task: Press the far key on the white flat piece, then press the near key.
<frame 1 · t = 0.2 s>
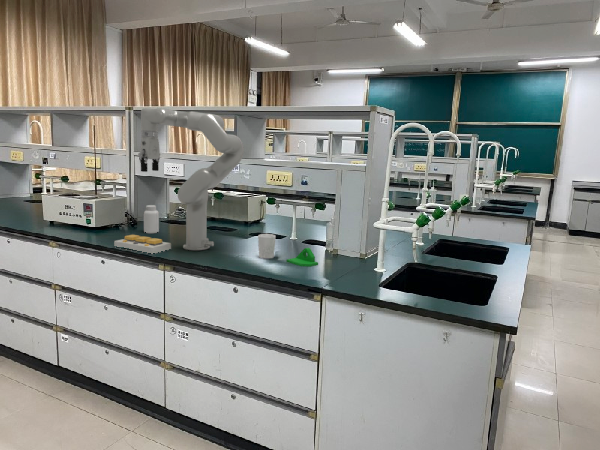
hand: (149, 171, 217), 36 cm above the countertop, tool pointing down, fingers open, 9 cm apart
key b: (143, 240, 212), point 4 cm above the countertop, slide at 0.0 cm
white cup: (266, 257, 206), on the countertop
key c: (132, 238, 216), point 4 cm above the countertop, slide at 0.0 cm
pill bottle: (151, 232, 251), on the countertop
white flat piece: (142, 248, 213), on the countertop
bracket: (302, 264, 197), on the countertop
key a: (154, 242, 209), point 4 cm above the countertop, slide at 0.0 cm
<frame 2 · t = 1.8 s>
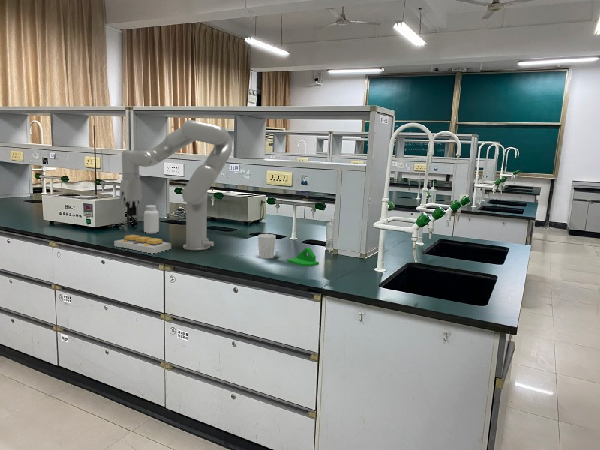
hand: (131, 215, 214), 15 cm above the countertop, tool pointing down, fingers closed
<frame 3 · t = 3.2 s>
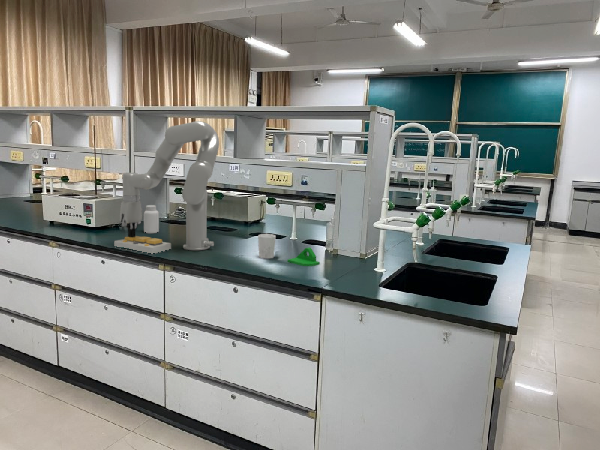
hand: (131, 236, 215), 5 cm above the countertop, tool pointing down, fingers closed
key c: (132, 239, 216), point 3 cm above the countertop, slide at 0.4 cm, touching gripper
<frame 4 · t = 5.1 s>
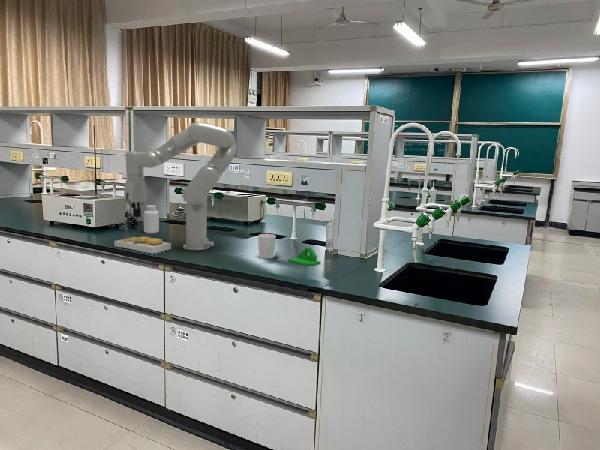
hand: (137, 216, 213), 15 cm above the countertop, tool pointing down, fingers closed
key c: (132, 241, 216), point 2 cm above the countertop, slide at 1.4 cm
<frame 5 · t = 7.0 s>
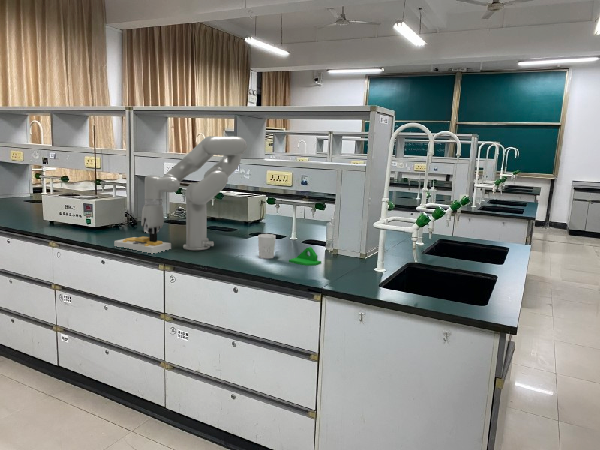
hand: (153, 241, 209), 4 cm above the countertop, tool pointing down, fingers closed
key a: (154, 244, 210), point 3 cm above the countertop, slide at 0.9 cm, touching gripper
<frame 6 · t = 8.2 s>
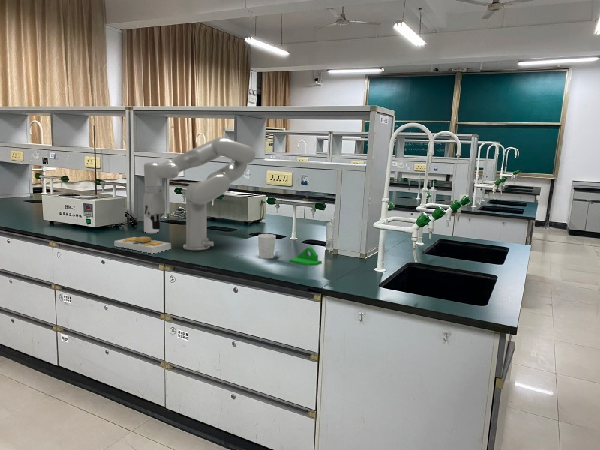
hand: (156, 228, 209), 10 cm above the countertop, tool pointing down, fingers closed
key a: (154, 245, 210), point 2 cm above the countertop, slide at 1.4 cm
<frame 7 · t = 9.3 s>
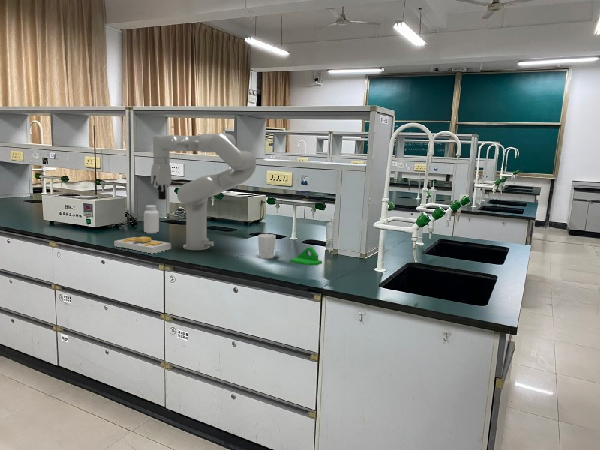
hand: (162, 199, 218), 23 cm above the countertop, tool pointing down, fingers closed
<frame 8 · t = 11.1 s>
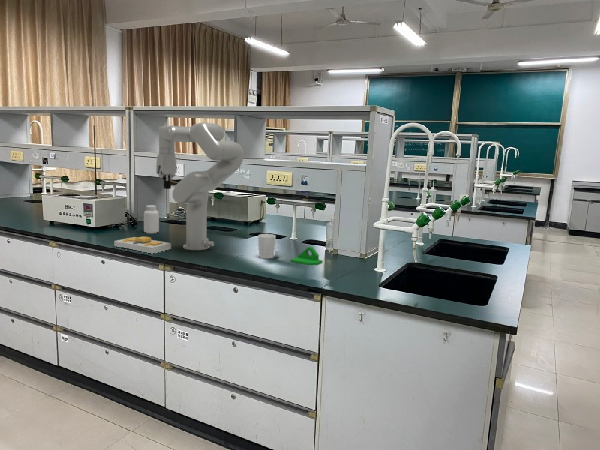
hand: (167, 188, 225), 27 cm above the countertop, tool pointing down, fingers closed
at the end: key c slide at 1.4 cm; key a slide at 1.4 cm; key b slide at 0.0 cm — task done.
